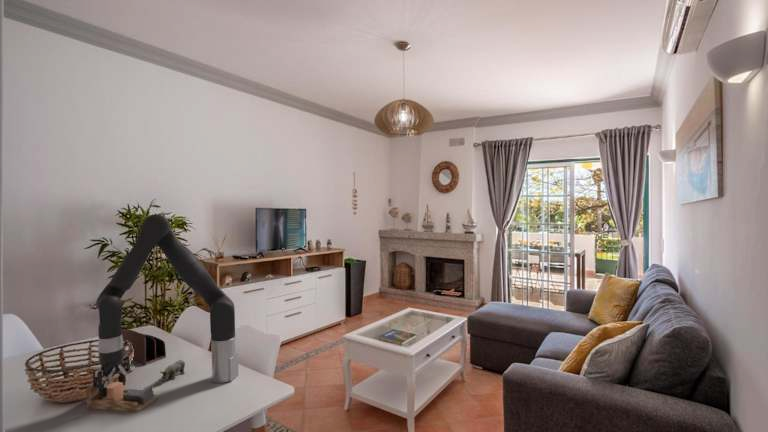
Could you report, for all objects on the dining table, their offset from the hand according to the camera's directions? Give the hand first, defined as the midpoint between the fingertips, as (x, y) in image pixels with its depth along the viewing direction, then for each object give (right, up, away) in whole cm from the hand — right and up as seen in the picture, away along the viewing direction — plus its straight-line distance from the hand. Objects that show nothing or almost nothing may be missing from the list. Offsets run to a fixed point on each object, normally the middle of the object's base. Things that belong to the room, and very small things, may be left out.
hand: (113, 391), depth 146 cm
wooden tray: (+3, -4, 0) cm, 6 cm away
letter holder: (-13, -2, +40) cm, 43 cm away
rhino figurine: (+11, -4, +19) cm, 23 cm away
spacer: (0, -3, 0) cm, 3 cm away
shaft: (+10, -3, -1) cm, 10 cm away
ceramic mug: (-13, -3, +24) cm, 27 cm away
